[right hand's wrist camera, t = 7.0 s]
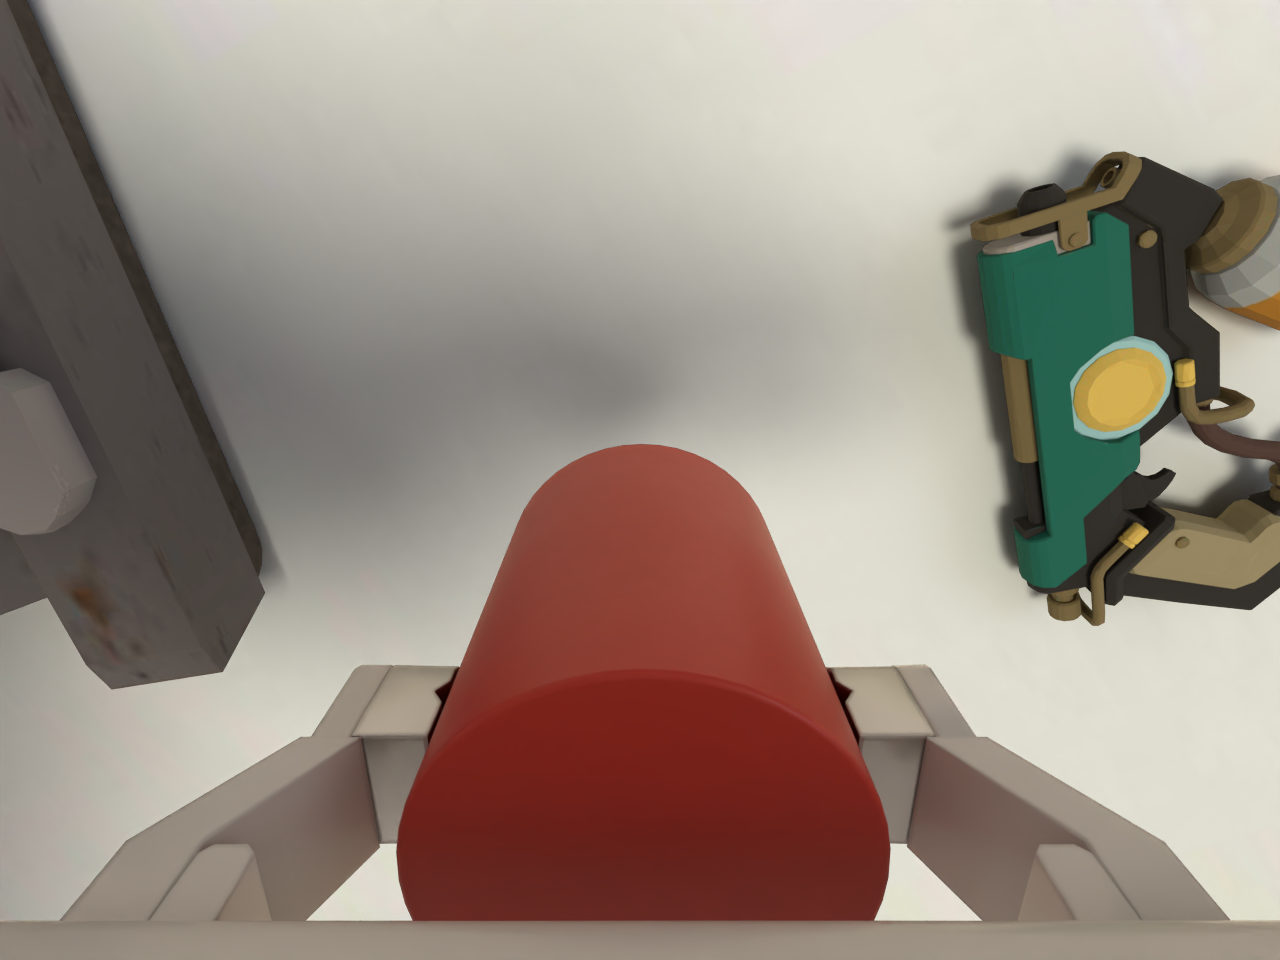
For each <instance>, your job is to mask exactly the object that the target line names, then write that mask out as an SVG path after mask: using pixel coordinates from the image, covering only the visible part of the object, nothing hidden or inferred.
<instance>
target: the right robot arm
mask: <svg viewBox="0 0 1280 960" xmlns="http://www.w3.org/2000/svg"><path fill="white" fill-rule="evenodd" d="M459 668H460V667H458V666H412V665H395V666H392V665H361V666H359V667H357V668H356V669H355V670H354V671H353V672H352V674H351V676H350V677H349V679H348V680H347V682H346V683H345V685H344V686H343V688H342V690H341V691H340V693H339V694H338V696H337V697H336V699H335V700H334V702H333V704H332V705H331V707H330V708H329V710H328V711H327V713H326V714H325V716H324V717H323V719H322V721H321V722H320V724H319V725H318V727H317V728H316V730H315V731H314V733H313V735H312V736H311V737H300V738H298V739H297V740H295V741H293V742H292V743H290V744H288V745H286V746H285V747H283V748H281V749H280V750H278V751H276V752H275V753H273V754H271V755H270V756H268V757H266V758H265V759H263V760H261V761H260V762H258V763H256V764H255V765H253V766H251V767H249V768H248V769H246V770H244V771H243V772H241V773H239V774H238V775H236V776H234V777H233V778H231V779H229V780H228V781H226V782H224V783H223V784H221V785H219V786H218V787H216V788H214V789H213V790H211V791H209V792H207V793H206V794H204V795H202V796H201V797H199V798H197V799H196V800H194V801H192V802H191V803H189V804H187V805H186V806H184V807H182V808H181V809H179V810H177V811H176V812H174V813H172V814H171V815H169V816H167V817H165V818H164V819H162V820H160V821H159V822H157V823H155V824H154V825H152V826H150V827H149V828H147V829H145V830H144V831H142V832H140V833H139V834H137V835H135V836H134V837H132V838H130V839H128V840H127V841H126V842H125V843H124V844H123V845H122V846H121V848H120V849H119V850H118V851H117V852H116V854H115V855H114V856H113V857H112V858H111V860H110V861H109V862H108V863H107V864H106V866H105V867H104V868H103V869H102V870H101V872H100V873H99V874H98V875H97V876H96V878H95V879H94V880H93V881H92V882H91V884H90V885H89V886H88V887H87V888H86V890H85V891H84V892H83V893H82V894H81V896H80V897H79V898H78V899H77V900H76V902H75V903H74V904H73V905H72V906H71V908H70V909H69V910H68V911H67V912H66V914H65V915H64V916H63V917H62V918H61V920H60V921H0V960H1280V921H1231V920H1230V919H1229V918H1228V917H1227V916H1226V914H1225V913H1224V912H1223V911H1222V910H1221V908H1220V907H1219V906H1218V905H1217V904H1216V902H1215V901H1214V900H1213V899H1212V898H1211V897H1210V895H1209V894H1208V893H1207V892H1206V891H1205V889H1204V888H1203V887H1202V886H1201V885H1200V884H1199V882H1198V881H1197V880H1196V879H1195V878H1194V876H1193V875H1192V874H1191V873H1190V872H1189V870H1188V869H1187V868H1186V867H1185V866H1184V865H1183V863H1182V862H1181V861H1180V860H1179V859H1178V857H1177V856H1176V855H1175V854H1174V853H1173V852H1172V850H1171V849H1170V848H1169V847H1168V846H1167V844H1166V843H1165V842H1164V841H1162V840H1160V839H1158V838H1157V837H1155V836H1153V835H1152V834H1150V833H1148V832H1147V831H1145V830H1143V829H1142V828H1140V827H1138V826H1136V825H1135V824H1133V823H1131V822H1130V821H1128V820H1126V819H1125V818H1123V817H1121V816H1120V815H1118V814H1116V813H1114V812H1113V811H1111V810H1109V809H1108V808H1106V807H1104V806H1103V805H1101V804H1099V803H1098V802H1096V801H1094V800H1092V799H1091V798H1089V797H1087V796H1086V795H1084V794H1082V793H1081V792H1079V791H1077V790H1076V789H1074V788H1072V787H1071V786H1069V785H1067V784H1065V783H1064V782H1062V781H1060V780H1059V779H1057V778H1055V777H1054V776H1052V775H1050V774H1049V773H1047V772H1045V771H1043V770H1042V769H1040V768H1038V767H1037V766H1035V765H1033V764H1032V763H1030V762H1028V761H1027V760H1025V759H1023V758H1021V757H1020V756H1018V755H1016V754H1015V753H1013V752H1011V751H1010V750H1008V749H1006V748H1005V747H1003V746H1001V745H999V744H998V743H996V742H994V741H993V740H991V739H989V738H988V737H976V735H975V734H974V732H973V731H972V729H971V728H970V726H969V725H968V723H967V722H966V720H965V719H964V717H963V716H962V714H961V713H960V711H959V710H958V708H957V707H956V705H955V704H954V702H953V701H952V699H951V698H950V696H949V695H948V693H947V692H946V690H945V689H944V687H943V686H942V684H941V683H940V681H939V680H938V678H937V677H936V675H935V674H934V672H933V671H932V669H931V668H930V667H928V666H926V665H896V666H891V667H826V670H827V672H828V674H829V677H830V679H831V682H832V684H833V686H834V689H835V691H836V694H837V696H838V698H839V701H840V703H841V706H842V708H843V710H844V713H845V715H846V718H847V720H848V722H849V725H850V727H851V730H852V732H853V734H854V737H855V739H856V742H857V744H858V747H859V749H860V751H861V754H862V756H863V759H864V761H865V763H866V766H867V768H868V771H869V773H870V775H871V778H872V780H873V783H874V785H875V787H876V790H877V792H878V795H879V797H880V799H881V803H882V806H883V809H884V813H885V816H886V820H887V823H888V830H889V840H890V843H898V844H907V847H908V848H909V849H910V850H911V851H912V852H913V853H914V854H915V855H916V856H917V857H918V858H919V859H920V860H921V861H922V862H923V863H924V864H925V865H926V866H927V867H928V868H929V869H930V870H931V871H932V872H933V873H934V874H935V875H936V876H937V877H938V878H939V879H940V880H941V881H943V882H944V883H945V884H946V885H947V886H948V887H949V888H950V889H951V890H952V891H953V892H954V893H955V894H956V895H957V896H958V897H959V898H960V899H961V900H962V901H963V902H964V903H965V904H966V905H967V906H968V907H969V908H970V909H971V910H972V911H973V912H974V913H975V914H976V915H977V916H978V917H979V918H980V919H981V920H982V921H306V920H307V919H308V918H309V917H310V916H311V915H312V914H313V913H314V912H315V911H316V910H317V909H318V908H319V907H320V906H321V905H322V904H323V903H324V902H325V901H326V900H327V899H328V898H329V897H330V896H331V895H332V894H333V893H334V892H335V891H336V890H337V889H338V888H339V887H340V886H341V885H342V884H343V883H344V882H345V881H346V880H347V879H348V878H349V877H350V876H351V875H352V874H353V873H354V872H355V871H356V870H357V869H358V868H359V867H360V866H361V865H362V864H363V863H364V862H365V861H366V860H367V859H368V858H370V857H371V856H372V855H373V854H374V853H375V852H376V851H377V850H378V849H379V848H380V845H379V844H389V843H397V839H398V828H399V824H400V820H401V817H402V813H403V809H404V806H405V802H406V800H407V797H408V795H409V792H410V790H411V787H412V785H413V782H414V780H415V778H416V775H417V773H418V770H419V768H420V765H421V763H422V760H423V758H424V755H425V753H426V750H427V748H428V745H429V743H430V740H431V738H432V735H433V733H434V730H435V728H436V725H437V723H438V720H439V718H440V715H441V713H442V710H443V708H444V705H445V703H446V701H447V698H448V696H449V693H450V691H451V688H452V686H453V683H454V681H455V678H456V676H457V673H458V671H459Z"/></svg>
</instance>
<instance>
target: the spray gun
mask: <svg viewBox="0 0 1280 960" xmlns="http://www.w3.org/2000/svg"><path fill="white" fill-rule="evenodd" d="M1117 165H1119V167H1118V168H1116V167H1114V166H1117ZM1100 182H1101V186H1102V187H1104V188H1107V189H1105V190H1102V191H1099V192H1096V193H1094V191H1095V189H1096V188H1097V186H1098V185H1099V183H1100ZM970 227H971V235H972V238H973V239H975V240H980V241H991V240H995V241H991V242H990V243H988V244H987V245H985V246H984V248H983V251H981V252H980V253H978V255H977V261H978V268H979V276H980V283H981V290H982V297H983V305H984V312H985V319H986V327H987V334H988V341H989V348H990V349H991V350H992V351H993V352H996V353H999V354H1000V355H1001V363H1002V370H1003V378H1004V385H1005V393H1006V400H1007V408H1008V416H1009V423H1010V431H1011V438H1012V446H1013V453H1014V459H1015V460H1016V461H1018V462H1021V464H1022V472H1023V480H1024V488H1025V496H1026V504H1027V512H1028V515H1027V516H1025V517H1021V518H1017V519H1014V524H1015V526H1014V535H1015V542H1016V549H1017V557H1018V564H1019V571H1020V574H1021V576H1022V578H1024V579H1025V580H1026V581H1027V584H1028V586H1030V587H1031V588H1032V589H1034V590H1036V591H1038V592H1041V593H1046V594H1048V596H1047V603H1048V612H1049V614H1050V616H1052V617H1053V618H1055V619H1057V620H1061V621H1070V620H1075V619H1077V618H1078V617H1079V616H1080V615H1082V616H1083V617H1084V618H1085V619H1086V620H1087V621H1088V622H1089V623H1090V624H1091V625H1092V626H1099V625H1101V624H1103V623H1105V604H1108V605H1113V606H1115V605H1116V604H1117V603H1118V602H1119V601H1121V600H1122V598H1123V595H1125V596H1133V597H1140V598H1148V599H1156V600H1164V601H1172V602H1180V603H1189V604H1198V605H1207V606H1216V607H1226V608H1235V609H1244V610H1252V609H1253V608H1255V607H1256V606H1257V605H1258V604H1260V603H1261V602H1262V601H1263V600H1265V599H1266V598H1267V597H1269V596H1270V595H1271V594H1272V593H1274V592H1275V591H1276V590H1277V589H1279V588H1280V442H1277V441H1267V440H1257V439H1250V438H1246V437H1242V436H1238V435H1234V434H1232V433H1229V432H1227V431H1225V430H1223V429H1221V428H1220V427H1219V426H1218V425H1217V423H1223V422H1228V421H1232V420H1235V419H1239V418H1242V417H1245V416H1246V415H1248V414H1249V413H1250V412H1251V411H1252V410H1253V408H1254V406H1255V404H1254V401H1253V400H1252V399H1250V398H1248V397H1246V396H1245V395H1243V394H1241V393H1239V392H1237V391H1235V390H1231V389H1227V388H1224V387H1220V332H1218V331H1217V330H1216V329H1215V328H1213V327H1212V326H1211V325H1210V324H1208V323H1207V322H1206V321H1205V320H1203V319H1202V318H1201V317H1200V316H1199V315H1197V314H1196V313H1195V312H1194V311H1193V310H1192V309H1190V308H1189V300H1188V288H1187V275H1186V268H1188V269H1190V270H1191V276H1192V279H1193V282H1194V285H1195V288H1197V289H1198V290H1199V291H1200V292H1201V293H1202V294H1203V295H1204V296H1206V297H1207V298H1208V299H1209V300H1211V301H1213V302H1214V303H1216V304H1217V305H1219V306H1221V307H1222V308H1225V309H1227V310H1230V311H1232V312H1235V313H1237V314H1240V315H1242V316H1245V317H1247V318H1250V319H1252V320H1255V321H1257V322H1260V323H1262V324H1265V325H1267V326H1270V327H1272V328H1275V329H1277V330H1280V175H1278V176H1273V177H1268V178H1266V179H1264V180H1262V181H1260V182H1259V181H1256V180H1254V179H1251V178H1247V179H1242V180H1238V181H1233V182H1231V183H1229V184H1227V185H1225V186H1224V187H1222V188H1220V189H1218V190H1217V191H1215V190H1214V189H1212V188H1210V187H1208V186H1206V185H1204V184H1202V183H1199V182H1197V181H1195V180H1193V179H1191V178H1189V177H1186V176H1184V175H1182V174H1180V173H1178V172H1176V171H1173V170H1171V169H1169V168H1167V167H1165V166H1163V165H1160V164H1158V163H1156V162H1154V161H1152V160H1150V159H1148V158H1145V157H1136V156H1134V155H1132V154H1129V153H1127V152H1112V153H1110V154H1107V155H1105V156H1104V157H1103V158H1102V159H1101V160H1099V161H1098V162H1097V163H1096V164H1095V166H1094V167H1093V169H1092V170H1091V171H1090V173H1089V174H1088V176H1087V178H1086V180H1085V181H1084V183H1083V185H1082V186H1079V187H1076V188H1073V189H1070V190H1067V191H1063V190H1062V189H1061V188H1060V187H1059V186H1058V185H1056V184H1047V185H1042V186H1038V187H1035V188H1032V189H1029V190H1027V191H1025V192H1024V193H1023V195H1022V197H1021V199H1020V200H1019V202H1018V204H1017V207H1016V208H1013V209H1010V210H1007V211H1004V212H1001V213H998V214H995V215H992V216H989V217H986V218H983V219H981V220H978V221H975V222H973V223H972V224H970ZM997 239H998V240H997ZM1213 400H1219V401H1221V402H1223V403H1225V404H1227V405H1230V406H1228V407H1224V408H1218V409H1212V410H1210V403H1212V401H1213ZM1181 412H1182V414H1183V415H1184V417H1185V418H1186V420H1187V422H1188V424H1189V426H1190V427H1191V429H1192V431H1193V433H1194V434H1195V435H1196V436H1197V437H1198V438H1199V439H1200V440H1201V441H1202V442H1203V443H1204V444H1206V445H1208V446H1210V447H1212V448H1214V449H1216V450H1218V451H1220V452H1224V453H1228V454H1232V455H1236V456H1241V457H1246V458H1256V459H1266V460H1270V461H1273V462H1275V465H1273V466H1271V467H1270V468H1269V480H1270V482H1271V483H1273V484H1275V485H1273V486H1272V487H1271V489H1270V490H1269V491H1265V492H1261V493H1257V494H1253V495H1250V496H1249V498H1248V499H1243V500H1239V501H1235V502H1233V503H1232V504H1231V505H1229V506H1228V507H1227V508H1226V509H1225V510H1224V512H1223V513H1222V514H1221V515H1219V516H1218V517H1217V518H1211V517H1206V516H1201V515H1197V514H1192V513H1187V512H1183V511H1178V510H1173V509H1169V508H1164V507H1159V506H1158V505H1156V504H1155V503H1153V502H1152V500H1153V499H1155V498H1156V497H1158V496H1159V495H1160V494H1161V493H1162V492H1163V491H1164V490H1165V489H1166V488H1167V487H1168V485H1169V484H1170V483H1171V481H1172V480H1173V478H1174V476H1175V474H1176V473H1175V472H1173V471H1172V470H1169V469H1166V468H1163V469H1162V470H1161V471H1159V472H1158V473H1156V474H1153V475H1150V476H1143V475H1141V474H1139V473H1137V472H1136V471H1135V470H1136V469H1137V467H1138V465H1139V463H1140V446H1141V445H1142V444H1144V443H1145V442H1146V441H1147V440H1149V439H1150V438H1151V437H1152V436H1153V435H1155V434H1156V433H1157V432H1158V431H1159V430H1161V429H1162V428H1163V427H1164V426H1165V425H1167V424H1168V423H1169V422H1170V421H1172V420H1173V419H1174V418H1175V417H1176V416H1178V415H1179V414H1180V413H1181ZM1082 587H1086V588H1087V589H1088V590H1089V591H1090V592H1091V597H1092V610H1091V609H1090V608H1089V607H1088V606H1087V605H1086V604H1085V602H1084V601H1083V600H1082V599H1081V597H1080V595H1079V592H1078V591H1079V588H1082Z"/></svg>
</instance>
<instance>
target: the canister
mask: <svg viewBox="0 0 1280 960" xmlns="http://www.w3.org/2000/svg"><path fill="white" fill-rule="evenodd" d="M396 853H397V865H398V876H399V883H400V886H401V890H402V894H403V898H404V901H405V904H406V907H407V909H408V911H409V913H410V916H411V918H412V920H413V921H874V919H875V917H876V915H877V912H878V910H879V908H880V905H881V903H882V901H883V897H884V893H885V889H886V885H887V881H888V876H889V862H890V840H889V830H888V823H887V820H886V816H885V813H884V809H883V806H882V803H881V799H880V797H879V795H878V792H877V790H876V787H875V785H874V783H873V780H872V778H871V775H870V773H869V771H868V768H867V766H866V763H865V761H864V759H863V756H862V754H861V751H860V749H859V747H858V744H857V742H856V739H855V737H854V734H853V732H852V730H851V727H850V725H849V722H848V720H847V718H846V715H845V713H844V710H843V708H842V706H841V703H840V701H839V698H838V696H837V694H836V691H835V689H834V686H833V684H832V682H831V679H830V677H829V674H828V672H827V670H826V667H825V665H824V662H823V660H822V658H821V655H820V653H819V650H818V648H817V645H816V643H815V641H814V638H813V636H812V633H811V631H810V629H809V626H808V624H807V621H806V619H805V617H804V614H803V612H802V609H801V607H800V605H799V602H798V600H797V597H796V595H795V593H794V590H793V588H792V585H791V583H790V581H789V578H788V576H787V573H786V571H785V569H784V566H783V564H782V561H781V559H780V556H779V554H778V552H777V549H776V547H775V544H774V542H773V540H772V537H771V535H770V532H769V530H768V528H767V525H766V523H765V521H764V519H763V516H762V514H761V512H760V510H759V508H758V507H757V505H756V504H755V502H754V501H753V499H752V498H751V496H750V495H749V493H748V492H747V491H746V490H745V489H744V488H743V487H742V486H741V484H740V483H739V482H738V481H737V480H735V479H734V478H733V477H732V476H731V475H729V474H728V473H727V472H726V471H725V470H723V469H722V468H720V467H718V466H717V465H715V464H714V463H712V462H711V461H708V460H706V459H704V458H702V457H700V456H698V455H696V454H693V453H690V452H687V451H684V450H681V449H677V448H672V447H667V446H661V445H648V444H635V445H622V446H617V447H612V448H607V449H603V450H600V451H597V452H594V453H591V454H588V455H586V456H584V457H582V458H579V459H577V460H575V461H573V462H571V463H570V464H568V465H567V466H565V467H564V468H562V469H561V470H559V471H558V472H556V473H555V474H554V475H553V476H552V477H551V478H549V479H548V480H547V481H546V482H545V483H544V484H543V485H542V486H541V487H540V488H539V490H538V491H537V492H536V493H535V494H534V495H533V497H532V498H531V500H530V501H529V503H528V504H527V506H526V508H525V509H524V511H523V513H522V515H521V518H520V520H519V522H518V524H517V527H516V529H515V532H514V534H513V537H512V539H511V541H510V544H509V546H508V549H507V551H506V554H505V556H504V559H503V561H502V564H501V566H500V569H499V571H498V574H497V576H496V579H495V581H494V584H493V586H492V589H491V591H490V594H489V596H488V599H487V601H486V604H485V606H484V609H483V611H482V614H481V616H480V619H479V621H478V623H477V626H476V628H475V631H474V633H473V636H472V638H471V641H470V643H469V646H468V648H467V651H466V653H465V656H464V658H463V661H462V663H461V666H460V668H459V671H458V673H457V676H456V678H455V681H454V683H453V686H452V688H451V691H450V693H449V696H448V698H447V701H446V703H445V705H444V708H443V710H442V713H441V715H440V718H439V720H438V723H437V725H436V728H435V730H434V733H433V735H432V738H431V740H430V743H429V745H428V748H427V750H426V753H425V755H424V758H423V760H422V763H421V765H420V768H419V770H418V773H417V775H416V778H415V780H414V782H413V785H412V787H411V790H410V792H409V795H408V797H407V800H406V802H405V806H404V809H403V813H402V817H401V820H400V824H399V828H398V839H397V850H396Z"/></svg>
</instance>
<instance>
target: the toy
mask: <svg viewBox="0 0 1280 960" xmlns="http://www.w3.org/2000/svg"><path fill="white" fill-rule="evenodd" d="M261 565H262V548H261V544H260V540H259V537H258V535H257V532H256V530H255V528H254V525H253V523H252V521H251V518H250V516H249V514H248V511H247V509H246V507H245V504H244V502H243V500H242V498H241V495H240V493H239V491H238V488H237V486H236V484H235V481H234V479H233V477H232V474H231V472H230V470H229V467H228V465H227V463H226V460H225V458H224V456H223V454H222V451H221V449H220V447H219V444H218V442H217V440H216V437H215V435H214V433H213V430H212V428H211V426H210V423H209V421H208V419H207V416H206V414H205V412H204V409H203V407H202V405H201V403H200V400H199V398H198V396H197V393H196V391H195V389H194V386H193V384H192V382H191V379H190V377H189V375H188V372H187V370H186V368H185V365H184V363H183V361H182V358H181V356H180V354H179V352H178V349H177V347H176V345H175V342H174V340H173V338H172V335H171V333H170V331H169V328H168V326H167V324H166V321H165V319H164V317H163V314H162V312H161V310H160V308H159V305H158V303H157V301H156V298H155V296H154V294H153V291H152V289H151V287H150V284H149V282H148V280H147V277H146V275H145V273H144V270H143V268H142V266H141V263H140V261H139V259H138V257H137V254H136V252H135V250H134V247H133V245H132V243H131V240H130V238H129V236H128V233H127V231H126V229H125V226H124V224H123V222H122V219H121V217H120V215H119V212H118V210H117V208H116V206H115V203H114V201H113V199H112V196H111V194H110V192H109V189H108V187H107V185H106V182H105V180H104V178H103V175H102V173H101V171H100V168H99V166H98V164H97V162H96V159H95V157H94V155H93V152H92V150H91V148H90V145H89V143H88V141H87V138H86V136H85V134H84V131H83V129H82V127H81V124H80V122H79V120H78V117H77V115H76V113H75V111H74V108H73V106H72V104H71V101H70V99H69V97H68V94H67V92H66V90H65V87H64V85H63V83H62V80H61V78H60V76H59V73H58V71H57V69H56V66H55V64H54V62H53V60H52V57H51V55H50V53H49V50H48V48H47V46H46V43H45V41H44V39H43V36H42V34H41V32H40V29H39V27H38V25H37V22H36V20H35V18H34V16H33V13H32V11H31V9H30V6H29V4H28V2H27V0H0V615H1V614H4V613H7V612H9V611H12V610H15V609H17V608H20V607H23V606H25V605H28V604H31V603H33V602H36V601H39V600H41V599H44V598H48V599H49V601H50V603H51V604H52V606H53V608H54V610H55V611H56V613H57V615H58V617H59V618H60V620H61V622H62V624H63V625H64V627H65V629H66V631H67V632H68V634H69V636H70V638H71V639H72V641H73V643H74V644H75V646H76V648H77V650H78V651H79V653H80V655H81V657H82V658H83V660H84V662H85V664H86V665H87V666H88V667H89V668H90V669H91V670H92V671H93V672H94V673H95V674H96V675H97V676H98V677H99V678H100V679H101V680H102V681H103V682H105V683H106V684H107V685H108V686H109V687H110V688H111V689H117V688H124V687H130V686H136V685H143V684H149V683H155V682H162V681H168V680H174V679H181V678H187V677H194V676H200V675H206V674H213V673H219V672H223V670H224V669H225V667H226V665H227V663H228V661H229V659H230V658H231V656H232V654H233V652H234V650H235V648H236V646H237V645H238V643H239V641H240V639H241V637H242V635H243V633H244V631H245V630H246V628H247V626H248V624H249V622H250V620H251V618H252V616H253V614H254V613H255V611H256V609H257V607H258V605H259V603H260V601H261V599H262V598H263V596H264V594H265V591H264V589H263V587H262V584H261V582H260V580H259V573H260V569H261Z"/></svg>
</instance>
